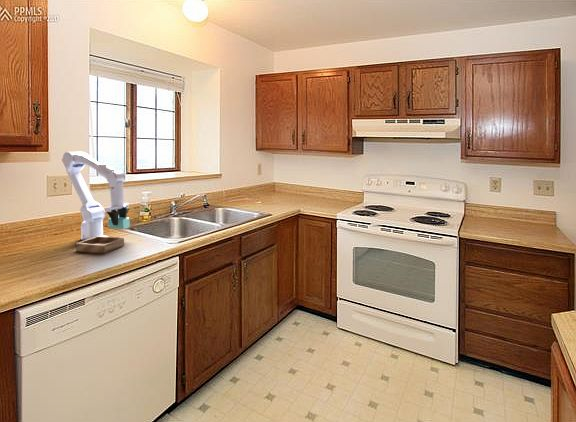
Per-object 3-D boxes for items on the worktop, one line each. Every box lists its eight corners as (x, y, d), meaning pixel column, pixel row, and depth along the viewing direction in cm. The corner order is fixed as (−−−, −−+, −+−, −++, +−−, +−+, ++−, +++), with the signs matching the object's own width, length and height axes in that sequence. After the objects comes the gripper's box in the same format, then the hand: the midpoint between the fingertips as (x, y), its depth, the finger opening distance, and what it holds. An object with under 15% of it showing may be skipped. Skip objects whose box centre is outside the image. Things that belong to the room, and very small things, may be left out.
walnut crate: (76, 251, 169) (75, 243, 169) (98, 243, 183) (97, 235, 182) (104, 253, 166) (103, 245, 166) (124, 245, 180) (123, 237, 179)
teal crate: (108, 228, 185) (108, 218, 184) (115, 225, 190) (114, 217, 189) (123, 229, 183) (122, 219, 182) (129, 226, 188) (129, 217, 187)
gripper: (114, 198, 176) (116, 227, 178) (133, 194, 190) (135, 221, 192) (101, 198, 177) (103, 226, 180) (121, 194, 191) (122, 220, 194)
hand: (119, 224), depth 186 cm, fingers closed on teal crate, 5 cm apart
